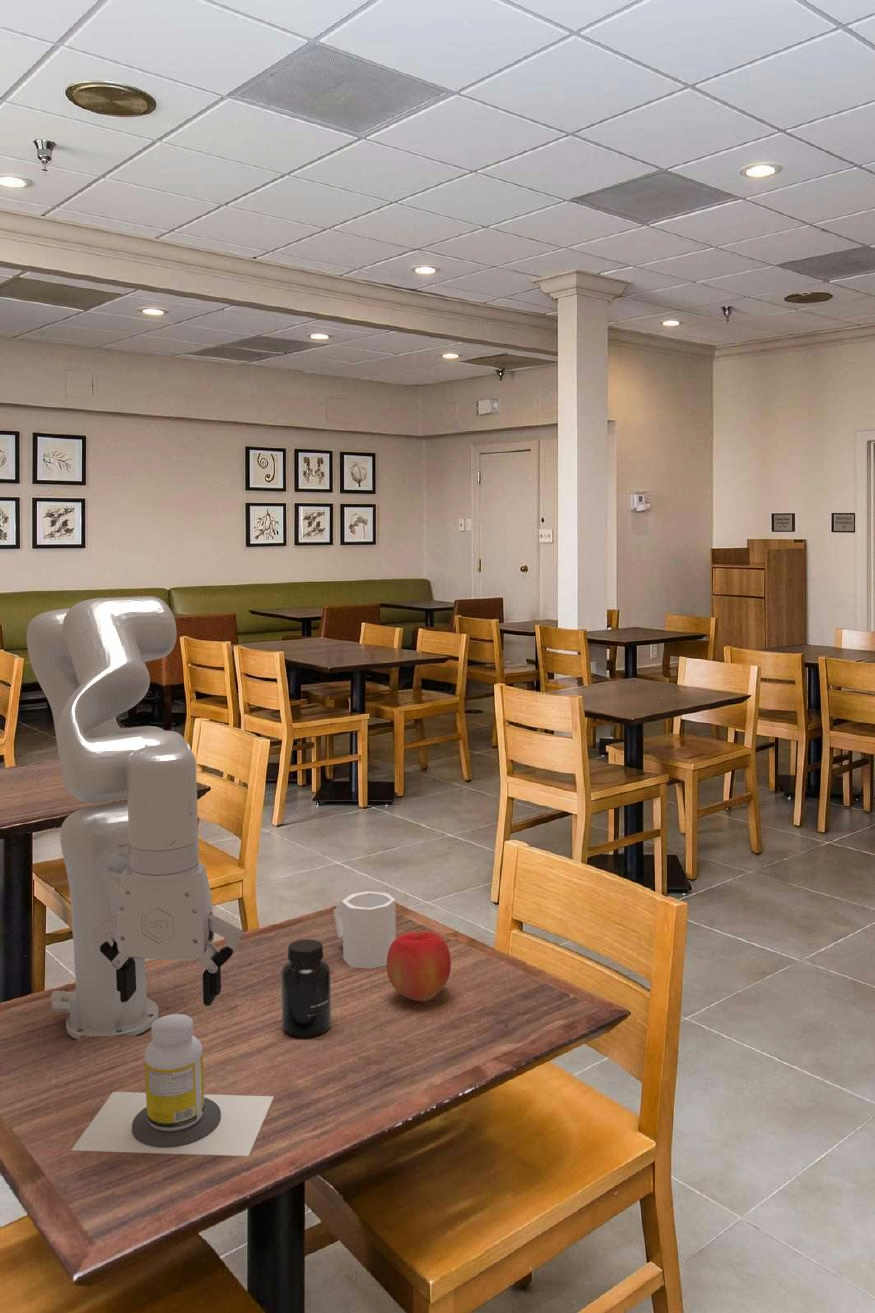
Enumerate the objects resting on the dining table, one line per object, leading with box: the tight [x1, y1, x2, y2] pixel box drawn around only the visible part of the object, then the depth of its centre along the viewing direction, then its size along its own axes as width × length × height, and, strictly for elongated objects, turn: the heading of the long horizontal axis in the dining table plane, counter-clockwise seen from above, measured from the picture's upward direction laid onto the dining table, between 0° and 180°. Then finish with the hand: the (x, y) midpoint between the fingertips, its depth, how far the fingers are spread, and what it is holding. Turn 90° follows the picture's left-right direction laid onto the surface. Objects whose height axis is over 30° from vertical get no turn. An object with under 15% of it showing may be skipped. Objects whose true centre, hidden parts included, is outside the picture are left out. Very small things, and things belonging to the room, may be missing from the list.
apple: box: [386, 931, 452, 1003], centre depth 152 cm, size 10×10×10 cm
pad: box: [132, 1097, 221, 1148], centre depth 119 cm, size 10×10×1 cm
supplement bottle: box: [280, 938, 332, 1038], centre depth 143 cm, size 7×7×12 cm
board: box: [71, 1091, 275, 1157], centre depth 119 cm, size 20×12×1 cm, turn 86°
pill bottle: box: [144, 1013, 205, 1131], centre depth 118 cm, size 6×6×12 cm
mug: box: [333, 891, 397, 970], centre depth 168 cm, size 12×9×10 cm
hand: (169, 998), depth 118 cm, fingers open, 9 cm apart
